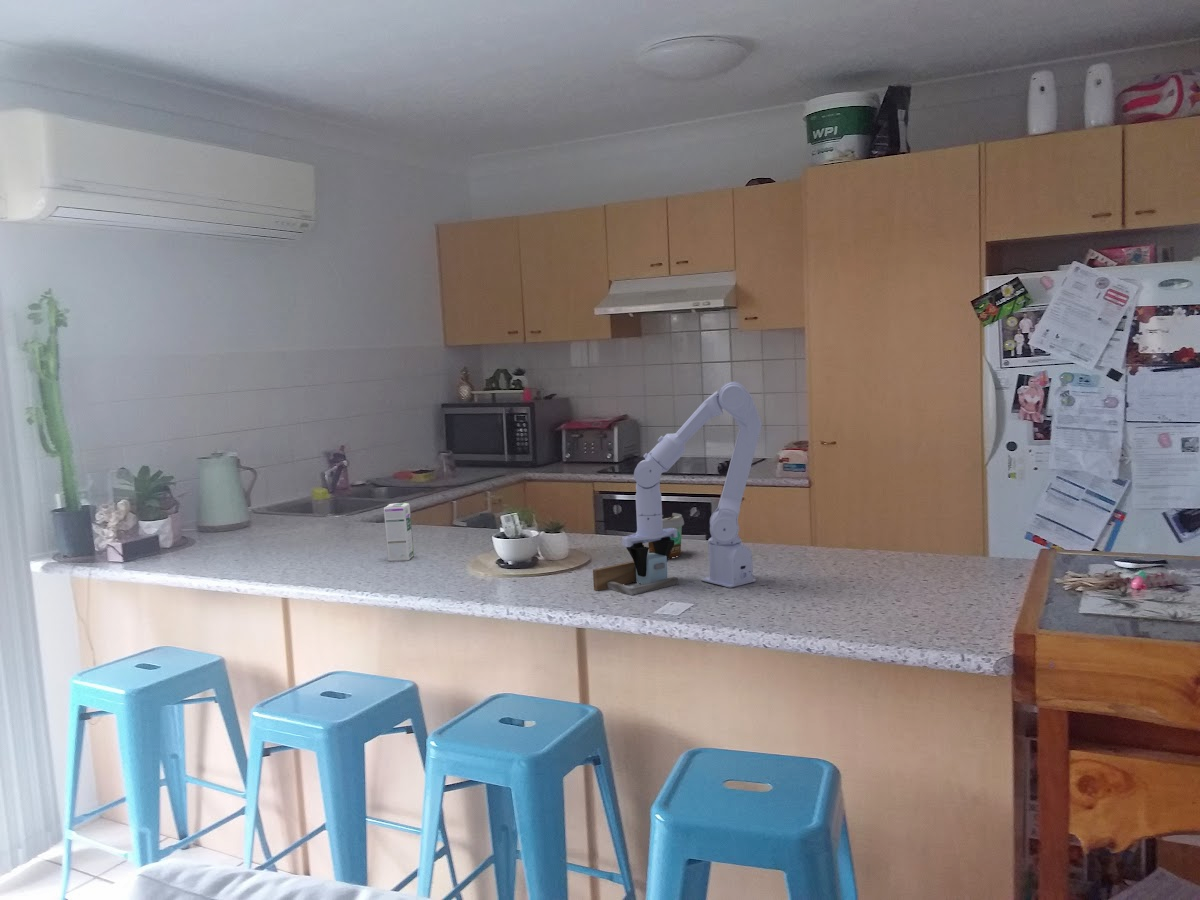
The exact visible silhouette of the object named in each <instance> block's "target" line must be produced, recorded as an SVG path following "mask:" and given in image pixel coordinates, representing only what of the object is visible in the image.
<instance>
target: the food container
mask: <svg viewBox="0 0 1200 900" xmlns="http://www.w3.org/2000/svg"><path fill="white" fill-rule="evenodd" d="M662 525H663V529H668V528H675V529H677V535H678V537H676V538H673V537H672V538H670V539H671V540H674V546H673V547H672V549H671V552H670V554H669V557H668V558H672V557H676V556H679V555H680V554H681V553H682V552H681V549H682V529H683V528H682V527H683V526H684V525H685V521H684V517H683V515H682V514H681V513H677V512H672V514H671V516H669V517H662ZM647 543H648V548H649V550H648V554H649V553H655V550H654V546H653V543H652V542H647ZM680 556H681V555H680ZM680 556H679V557H680Z"/></svg>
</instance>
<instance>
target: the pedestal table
mask: <svg viewBox="0 0 1200 900" xmlns="http://www.w3.org/2000/svg"><path fill="white" fill-rule="evenodd" d="M592 576H593V577H592V579H593V591H596V590H597V591H602V590H606V588H607V589H609V590H613V591H616V592H619V593H622V594H625V595H626V594H627V595H629V596H634V594H635V595H639V594H643V593H647V592H651V591H650V590H652V591H654V589H656V590H659V589H658V588H660V589H663V587H664V588H667V587H668V588H669V587H671V586H676V585H679V578H678V577H675V576H673V577H669V578H668V577H667V578H668V579H664V580H659V581H655V582H651V583H647V584H639V585H635V586H631V585H630V586H629V585H628V584H632V582H633V583H636V567H635V564H634V561H633V560H632V561H628V562H623V563H618V564H614V565H609V566H603V567H598V568H594V569H592ZM623 584H624V585H623ZM675 584H676V585H675ZM646 591H647V592H646ZM642 592H643V593H642ZM638 593H639V594H638Z"/></svg>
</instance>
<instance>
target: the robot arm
mask: <svg viewBox="0 0 1200 900" xmlns="http://www.w3.org/2000/svg"><path fill="white" fill-rule="evenodd" d="M723 410H724V411H725V412H727V413H728V414H729V415H730V416H731V417H732V419H733V420H734V421H735V423H736V425H737V426H738V432H737V435H736V440H735V443H734V447H733V450H732V455H731V457H730V462H729V466H728V470H727V473H726V477H725V481H724V485H723V488H722V490H721V491H722V492H721V495H720V498H719V500H718V505H717V508H716V509H715V510H714V511H713V513H712V514H711V516H710V518H709V533H710V536H711V537H709V538H708V540H707V541H708V567H709V568H708V572H709V573H708V574H709V576H706V577H701V579H700V580H701V581H702V582H705V583H709V584H714V585H718V586H723V587H727V588H735V587H739V586H742V585H746V584H750V583H754V582H756V581H757V580H756V578H754V573H753V571H754V569H753V568H754V566H753V565H754V563H753V553H752V550H751V549H750V548H749V546H747V545H745V544H743V541H742V538H741V537H740V536H739V533H740V526H739V521H738V520H739V517H740V516H739V515H740V513H741V506H742V505H741V504H742V501H743V497H744V493H745V490H746V486H747V482H748V478H749V475H750V471H751V467H752V464H753V460H754V456H755V453H756V449H757V446H758V442H759V438H760V434H761V432H762V425H763V423H762V420H761V417H760V415H759V412H758V408H757V406H756V403H755V400H754V398H753V396H752V395H751V394H750V392H749V391H748V390H747V389H746V387H744V385H743V384H742V383H740V382H738V381H728V382H726V383H724V384H722V386H720V388H719V391H718V390H716V391H715V392H714V393H712V394H711V395H710V396H709V397H707V398H706V399H705V400H704V401H702V403H701V404H700V405H699V406H698V407H697V409H695V410H694V412H693V413H692V414H691V415H690V417H688V419H687V420H686V421H685V422H684V423H683V424H682V426H681V427H680V428H678V430H677V431H676V432H675V433H666V434H665V435H664V436H663V435H660V437H659V438H658V439H657V442H658V443H656V444H655V446H654V447H653V448H652V449H651V450H650V451H649V452H648V453H647V452H645V453H644V454H643V458H644V459H643V460H641V461H639V462H638V463H637V465H636V467H635V468H634V471H633V478H634V481H635V482H636V483H635V491H636V493H635V511H636V513H635V514H636V531H635V533H633V534H629V535H626V536H622V537H621V546H622V547H625V549H626V550H627V551H628V553H629V554H630V556H631V559H632V561H634V564H635V567H636V570H637V574H638V576H642V577H645V576H646V560H647V554H649V546H645V545H644V544H646V543H648V542H652V543H653V546H654V550H655V554H660V555H664V556H667V562H668V561H669V559H668V557H669V554H670V552H671V549H672V547H673V546H674V540H671V539H670V538H672V537H673V538H676V537H678V535H677V529H675V528H668V529H663V525H662V518H663V504H662V492H661V485H660V483H661V482H660V480H661V478H662V474H663V473H666V472H668V471H669V470H670V469H671V468H672V467H673V466H674V465H675V464H676V462H678V460H680V459H681V457H682V456H683V455H684V454H685V453H686V451H687V450H686V449H687V448H686V444H687V442H688V441H689V440H690V439H691V438H692V437H693V436H694V435H695V434H696V433H697V432H698V431H699V430H700V429H701V428H702V427H703V426H704V425H705V424H707V422H708V421H709V420H710V419H711V418H715V417H718V416H721V415H723V414H724V412H723Z"/></svg>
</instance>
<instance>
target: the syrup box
mask: <svg viewBox="0 0 1200 900" xmlns="http://www.w3.org/2000/svg"><path fill="white" fill-rule="evenodd" d="M383 515H384V517H383V518H384V528H385V541H386V551H387V561H388V562H401V561H410V559H411V558H413V557H414V555H415V552H414V551H415V550H414V541H413V539H414V538H413V528H412V527H413V526H412V515H411V506H410V503H409V502H395V503H388V504H387V506H384V507H383Z"/></svg>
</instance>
